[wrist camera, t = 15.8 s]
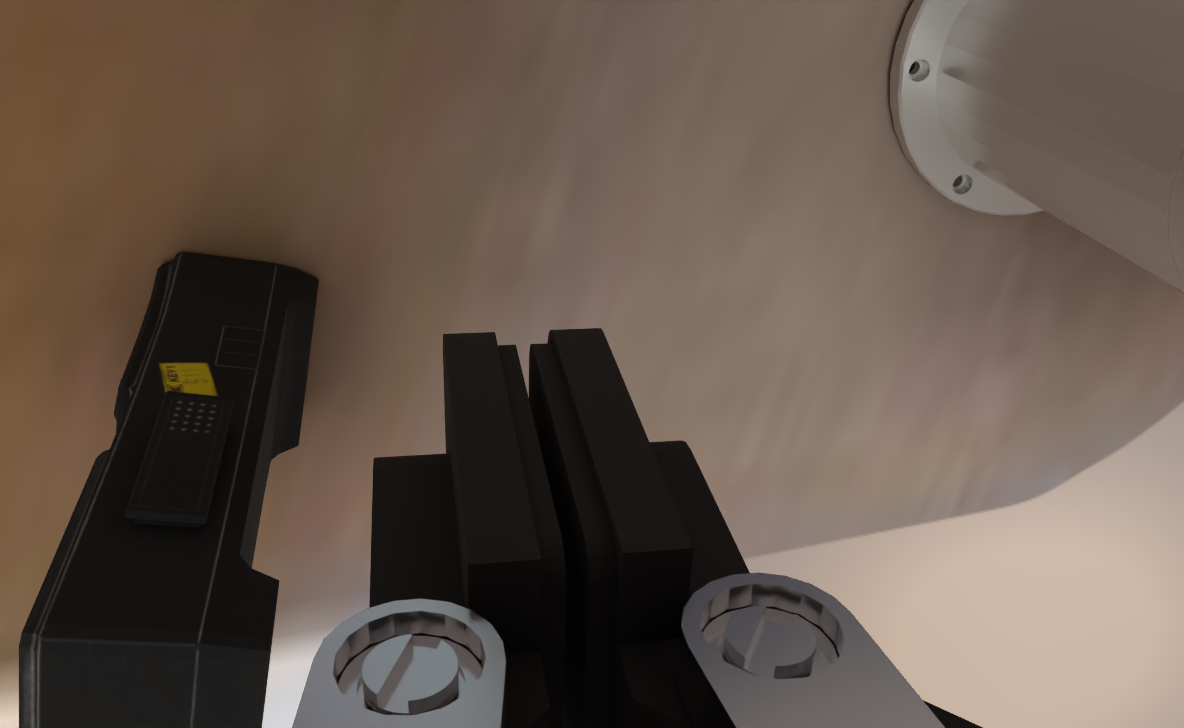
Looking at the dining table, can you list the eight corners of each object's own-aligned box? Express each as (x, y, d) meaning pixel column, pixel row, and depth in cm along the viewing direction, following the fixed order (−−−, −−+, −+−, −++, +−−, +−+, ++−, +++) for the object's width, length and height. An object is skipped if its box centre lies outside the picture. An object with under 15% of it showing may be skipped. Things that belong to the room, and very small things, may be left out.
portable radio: (162, 222, 41) (-82, 678, 19) (323, 245, 43) (264, 692, 21) (152, 400, 45) (-67, 965, 23) (302, 416, 46) (232, 960, 24)
